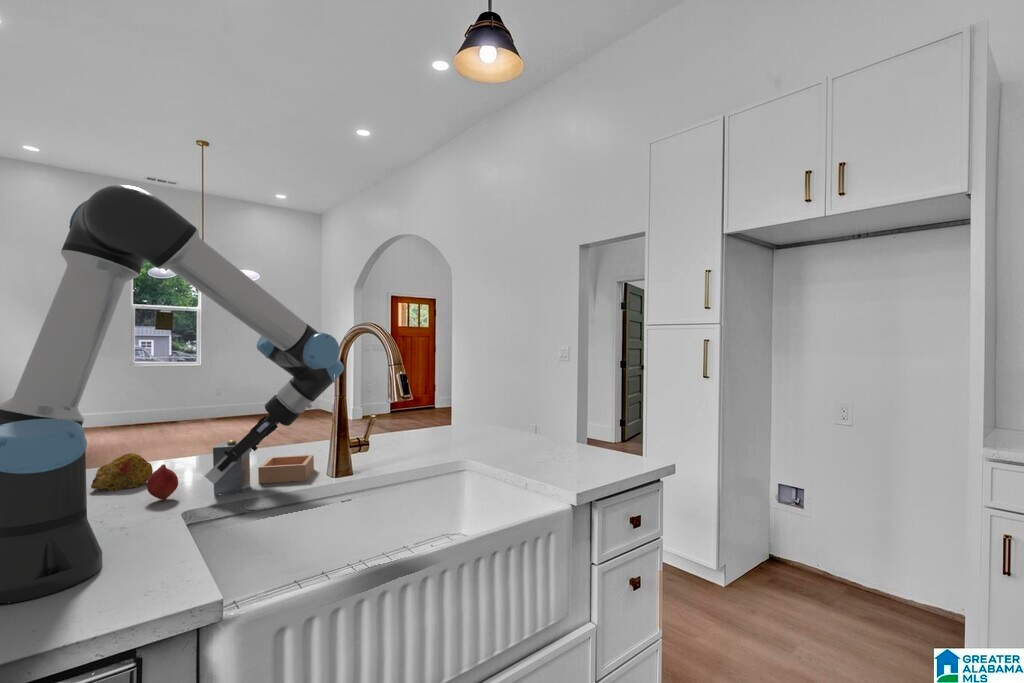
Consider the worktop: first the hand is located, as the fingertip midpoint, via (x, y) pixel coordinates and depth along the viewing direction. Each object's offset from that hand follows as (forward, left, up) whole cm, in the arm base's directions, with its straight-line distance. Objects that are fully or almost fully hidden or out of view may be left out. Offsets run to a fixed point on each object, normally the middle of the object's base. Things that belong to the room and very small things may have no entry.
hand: (218, 473), depth 121 cm
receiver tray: (+10, -13, -4) cm, 17 cm away
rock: (+11, +25, -5) cm, 28 cm away
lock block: (0, -3, -4) cm, 5 cm away
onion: (-4, +10, -5) cm, 12 cm away
